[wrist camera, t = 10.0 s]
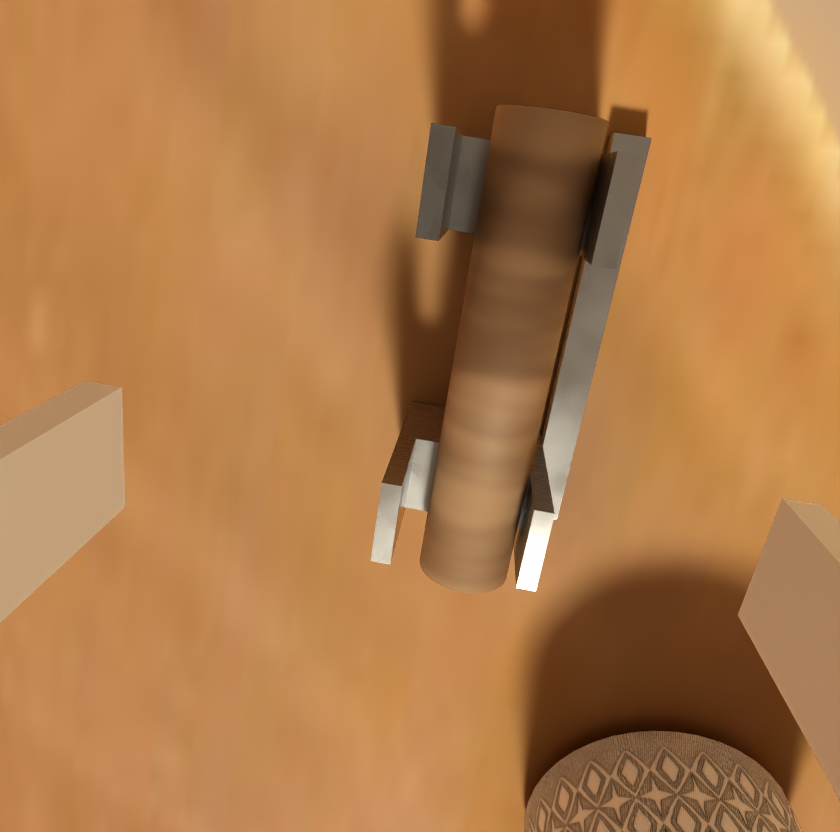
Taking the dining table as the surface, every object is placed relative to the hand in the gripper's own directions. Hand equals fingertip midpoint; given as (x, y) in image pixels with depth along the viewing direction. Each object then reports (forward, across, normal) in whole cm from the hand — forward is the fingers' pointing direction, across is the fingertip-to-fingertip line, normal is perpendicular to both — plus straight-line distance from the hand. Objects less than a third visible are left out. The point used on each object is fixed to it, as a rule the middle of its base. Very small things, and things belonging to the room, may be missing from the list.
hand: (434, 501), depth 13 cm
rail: (+16, +2, -1) cm, 16 cm away
